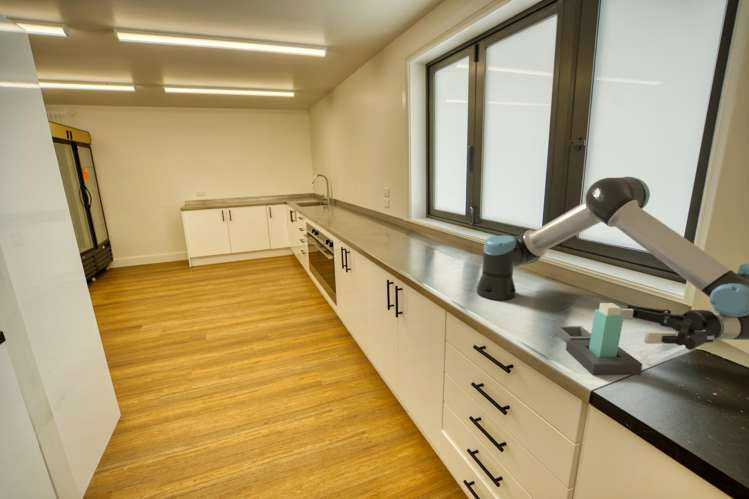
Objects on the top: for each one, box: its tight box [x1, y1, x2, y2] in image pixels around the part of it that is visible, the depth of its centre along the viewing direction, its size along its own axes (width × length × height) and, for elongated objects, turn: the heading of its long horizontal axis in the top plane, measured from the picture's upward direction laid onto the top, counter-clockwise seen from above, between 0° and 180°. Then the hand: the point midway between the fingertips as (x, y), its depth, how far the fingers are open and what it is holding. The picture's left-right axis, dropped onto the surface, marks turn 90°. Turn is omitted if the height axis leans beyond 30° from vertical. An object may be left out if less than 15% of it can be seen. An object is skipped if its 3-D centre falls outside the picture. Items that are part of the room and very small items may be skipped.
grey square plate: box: [555, 325, 591, 345], centre depth 102 cm, size 8×8×2 cm
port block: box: [565, 340, 643, 376], centre depth 91 cm, size 12×12×3 cm
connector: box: [589, 302, 624, 358], centre depth 89 cm, size 4×4×16 cm
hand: (625, 324), depth 88 cm, fingers open, 13 cm apart
